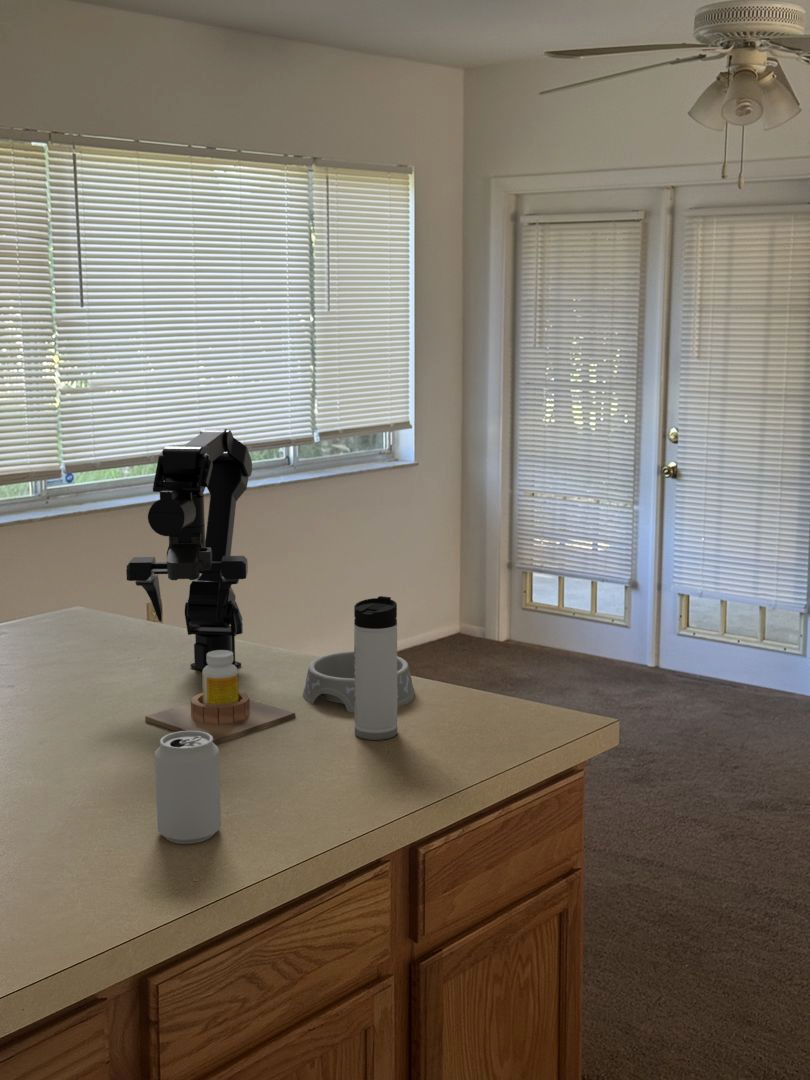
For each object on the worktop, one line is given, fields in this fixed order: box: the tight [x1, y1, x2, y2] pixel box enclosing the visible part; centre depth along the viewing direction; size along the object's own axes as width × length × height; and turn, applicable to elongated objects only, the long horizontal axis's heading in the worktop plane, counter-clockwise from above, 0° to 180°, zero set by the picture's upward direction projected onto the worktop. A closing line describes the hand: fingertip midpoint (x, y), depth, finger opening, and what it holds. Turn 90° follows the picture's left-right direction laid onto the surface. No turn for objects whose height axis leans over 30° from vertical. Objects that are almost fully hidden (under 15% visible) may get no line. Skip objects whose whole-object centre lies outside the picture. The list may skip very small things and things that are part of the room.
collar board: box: [144, 690, 296, 746], centre depth 190 cm, size 16×16×3 cm
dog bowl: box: [302, 650, 416, 713], centre depth 203 cm, size 17×18×5 cm
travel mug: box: [353, 595, 398, 741], centre depth 183 cm, size 6×7×20 cm
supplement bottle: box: [201, 650, 239, 706], centre depth 190 cm, size 5×5×10 cm
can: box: [154, 731, 222, 845], centre depth 149 cm, size 8×8×12 cm
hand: (189, 620), depth 202 cm, fingers open, 9 cm apart
